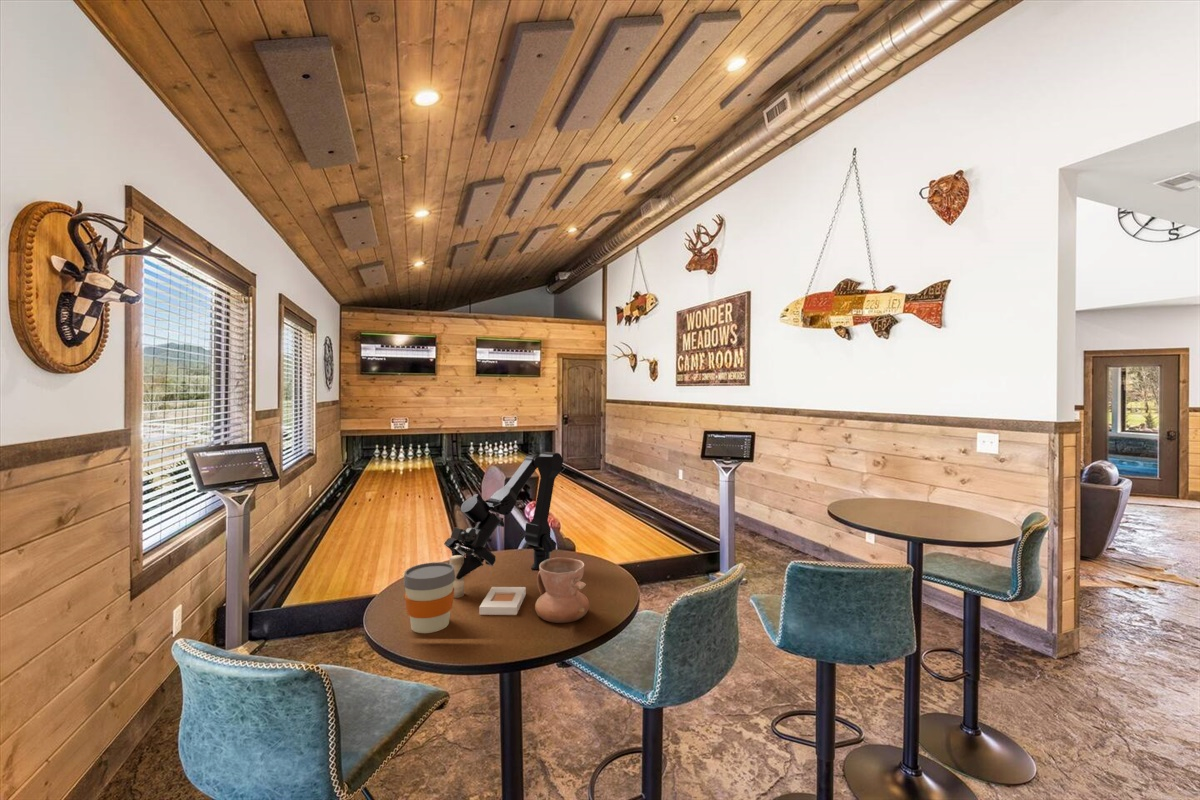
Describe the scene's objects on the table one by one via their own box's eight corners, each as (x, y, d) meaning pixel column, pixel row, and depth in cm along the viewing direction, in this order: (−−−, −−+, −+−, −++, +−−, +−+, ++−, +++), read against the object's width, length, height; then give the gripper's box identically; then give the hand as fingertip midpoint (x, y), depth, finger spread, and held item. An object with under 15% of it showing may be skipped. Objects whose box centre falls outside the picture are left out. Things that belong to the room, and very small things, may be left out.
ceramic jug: (603, 617, 137) (603, 565, 137) (562, 636, 127) (561, 579, 126) (560, 598, 150) (559, 550, 149) (519, 614, 140) (518, 562, 139)
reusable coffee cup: (437, 613, 140) (437, 558, 140) (465, 626, 132) (465, 568, 132) (394, 630, 131) (393, 571, 130) (421, 645, 123) (420, 583, 122)
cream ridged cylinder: (452, 595, 153) (452, 555, 152) (466, 595, 152) (465, 555, 152) (448, 600, 149) (447, 559, 148) (461, 601, 148) (461, 559, 148)
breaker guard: (491, 597, 151) (491, 586, 151) (525, 597, 151) (525, 587, 151) (479, 618, 137) (479, 607, 137) (516, 618, 137) (516, 607, 137)
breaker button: (496, 599, 147) (496, 594, 147) (515, 599, 147) (515, 594, 147) (491, 607, 141) (491, 602, 141) (511, 607, 141) (511, 602, 141)
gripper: (449, 511, 159) (417, 556, 151) (487, 521, 147) (454, 570, 139) (470, 531, 165) (441, 575, 157) (508, 542, 153) (478, 590, 145)
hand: (452, 577), depth 149 cm, fingers closed on cream ridged cylinder, 4 cm apart
